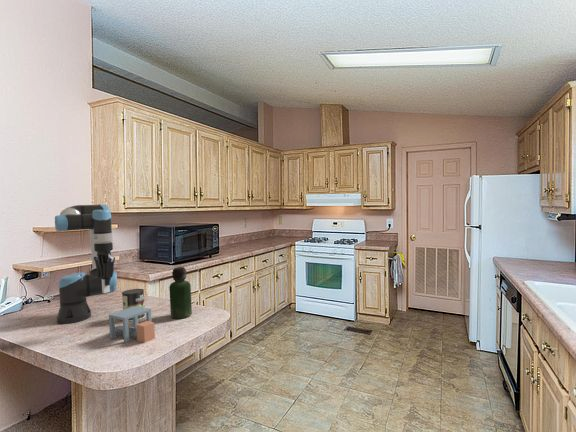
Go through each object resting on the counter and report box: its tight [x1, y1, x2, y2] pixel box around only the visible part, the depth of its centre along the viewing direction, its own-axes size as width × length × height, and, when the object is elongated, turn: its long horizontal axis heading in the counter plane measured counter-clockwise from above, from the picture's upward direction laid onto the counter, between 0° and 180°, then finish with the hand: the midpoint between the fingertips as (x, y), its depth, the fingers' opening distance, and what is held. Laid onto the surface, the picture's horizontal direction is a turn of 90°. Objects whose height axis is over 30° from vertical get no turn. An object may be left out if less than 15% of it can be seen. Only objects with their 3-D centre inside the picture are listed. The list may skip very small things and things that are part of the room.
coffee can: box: [121, 288, 146, 323], centre depth 167 cm, size 10×10×14 cm
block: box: [136, 320, 156, 344], centre depth 139 cm, size 5×5×7 cm
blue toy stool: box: [108, 306, 153, 343], centre depth 145 cm, size 11×13×10 cm
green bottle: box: [168, 266, 193, 320], centre depth 168 cm, size 10×10×25 cm
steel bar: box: [115, 324, 137, 340], centre depth 145 cm, size 18×4×3 cm, turn 62°
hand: (106, 292), depth 153 cm, fingers closed
